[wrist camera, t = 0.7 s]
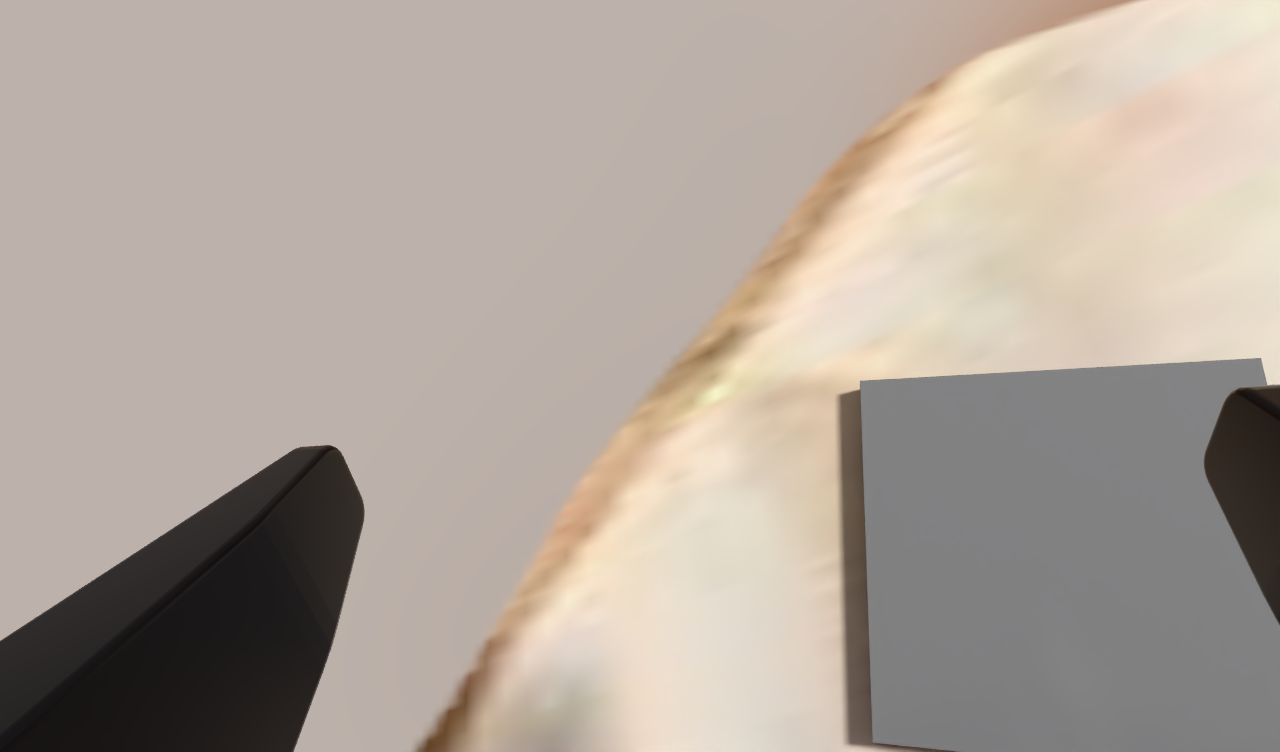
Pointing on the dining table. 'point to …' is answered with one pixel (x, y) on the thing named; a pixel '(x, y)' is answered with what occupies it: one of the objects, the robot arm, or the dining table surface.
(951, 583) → the coaster
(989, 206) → the dining table surface
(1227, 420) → the robot arm
